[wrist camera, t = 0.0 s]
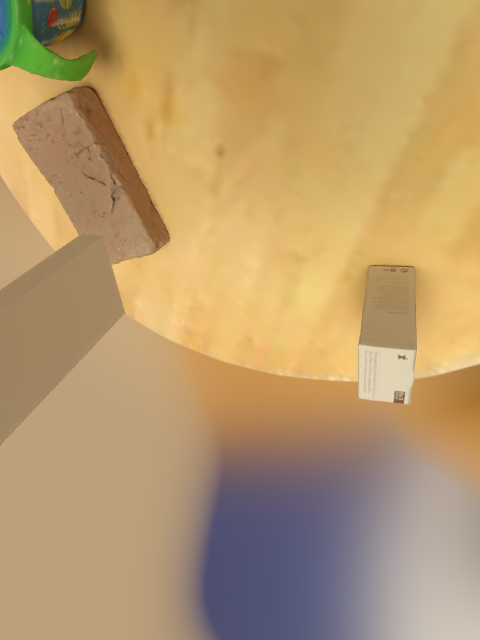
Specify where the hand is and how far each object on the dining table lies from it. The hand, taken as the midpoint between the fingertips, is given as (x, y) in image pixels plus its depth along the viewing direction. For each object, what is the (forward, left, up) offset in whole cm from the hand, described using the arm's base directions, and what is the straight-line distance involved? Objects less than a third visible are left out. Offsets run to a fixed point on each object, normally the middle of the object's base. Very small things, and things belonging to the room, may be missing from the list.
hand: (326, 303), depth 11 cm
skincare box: (+17, +3, -28) cm, 33 cm away
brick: (+7, -27, -28) cm, 40 cm away
